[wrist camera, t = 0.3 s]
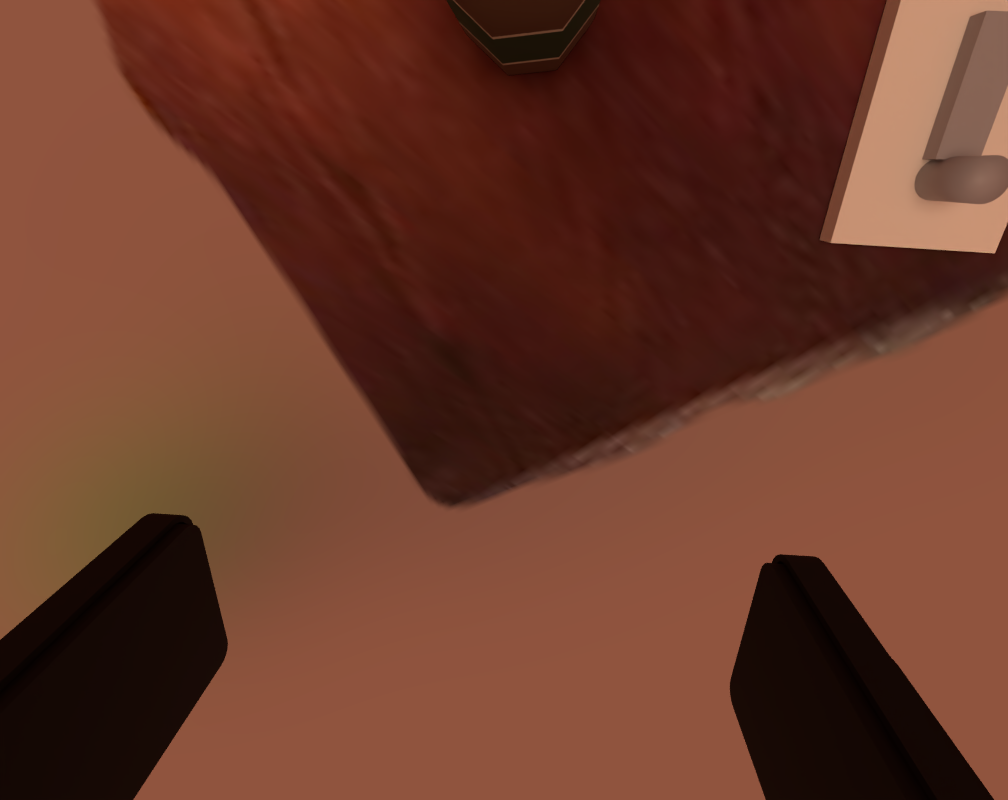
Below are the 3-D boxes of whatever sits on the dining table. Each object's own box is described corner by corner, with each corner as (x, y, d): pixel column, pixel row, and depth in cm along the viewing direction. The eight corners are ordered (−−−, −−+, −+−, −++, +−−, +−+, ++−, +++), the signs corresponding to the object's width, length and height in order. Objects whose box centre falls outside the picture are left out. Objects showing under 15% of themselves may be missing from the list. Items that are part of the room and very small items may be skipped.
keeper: (893, -24, 29) (965, -64, 24) (1082, -16, 29) (1196, -55, 24) (819, 239, 35) (865, 251, 30) (976, 249, 34) (1050, 263, 29)
